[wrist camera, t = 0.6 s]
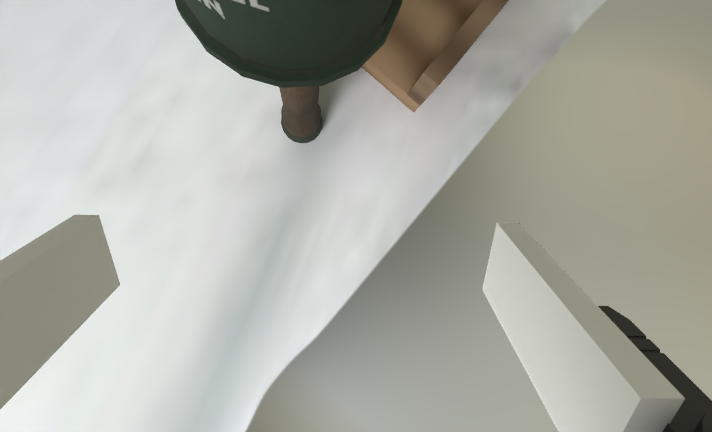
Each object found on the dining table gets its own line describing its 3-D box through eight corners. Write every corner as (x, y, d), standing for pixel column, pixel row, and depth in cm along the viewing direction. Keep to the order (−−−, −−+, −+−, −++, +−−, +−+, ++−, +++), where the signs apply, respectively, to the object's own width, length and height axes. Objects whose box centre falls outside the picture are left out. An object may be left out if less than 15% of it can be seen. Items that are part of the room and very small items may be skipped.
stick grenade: (251, 84, 34) (-154, -890, 4) (342, 79, 35) (523, -720, 5) (260, 174, 34) (-86, -181, 4) (351, 166, 35) (585, -159, 5)
